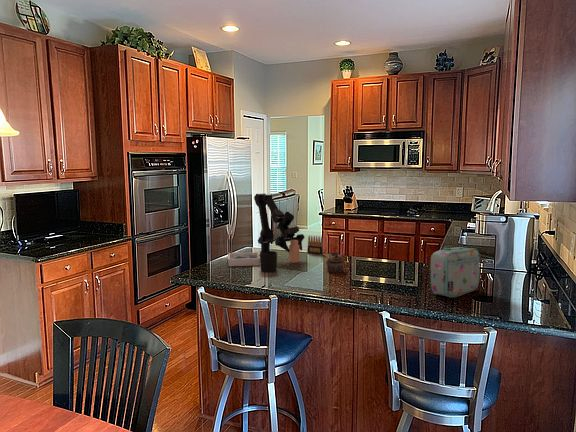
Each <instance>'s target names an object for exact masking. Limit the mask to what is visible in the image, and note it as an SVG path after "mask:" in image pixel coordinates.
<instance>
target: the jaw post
mask: <svg viewBox="0 0 576 432" xmlns="http://www.w3.org/2000/svg"><path fill="white" fill-rule="evenodd" d="M289 242H290V243H289V244H288V248H289V251H290V252H288V262H289V263H293V264H295V263H300V249H299V245H298V241H297V240H290V241H289Z"/></svg>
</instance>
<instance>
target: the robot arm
mask: <svg viewBox="0 0 576 432" xmlns="http://www.w3.org/2000/svg"><path fill="white" fill-rule="evenodd" d="M253 199H254V202H255V205H256V206H257V207H258V211H259V212H258V213H259V218H260V224H261V230H260V232H259V235H260V236H259V237H258V239H257V242H258V244H259V245H260V247H261V248H260V251H259V253H260V252H261V253H265V252H267V251H271V246H270V245H271V244H273V242H274V244H275V246H278V247H280V248H281V249H283V250H284V251H286V252H288V253H289V252H290V251H289V245H288V244H287V242H290V240H297V241H298V245H299V251H301V252H302V251H303V243H302V242H303V240H304V239H305V238H306V237H305V235H304V234H302V233H300V234H299V233H298V232H300V228H299V226H298V225H297V226H294V227H289V226H291V224H292V222H293V221H294V219H295V216H294V215H293V214H292V213H290V212H289V211H285V212H283V211H282V210H280V209H279V207H278V205H277V204H276V203H275V201H274V199H273V196H272V194H270V193H269V194H266V193H256V194H255V195H254V198H253ZM267 207H268V209H269V211H270V212H271V218H272V221H273V223H274V224H277V226H276V229H277V230H279V231H280V233H281V234H280V236H277V238H276V239H275V241H274V238H275V234H274V230H273V229H271V228H270V225H269V217H268V211H267ZM297 233H298V234H297ZM296 234H297V235H296Z"/></svg>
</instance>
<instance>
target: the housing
mask: <svg viewBox="0 0 576 432" xmlns="http://www.w3.org/2000/svg"><path fill="white" fill-rule="evenodd" d="M227 261H228V267H245V266H246V267H248V266H249V267H250V266H252V265H254V266H260V253H259V251H258V252H228V260H227Z"/></svg>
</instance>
